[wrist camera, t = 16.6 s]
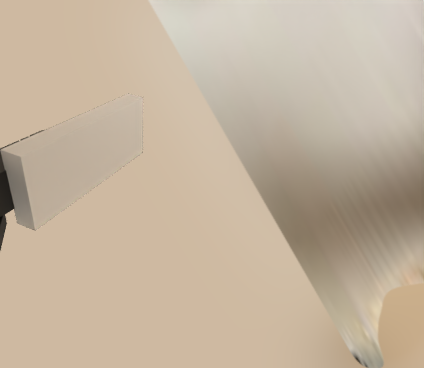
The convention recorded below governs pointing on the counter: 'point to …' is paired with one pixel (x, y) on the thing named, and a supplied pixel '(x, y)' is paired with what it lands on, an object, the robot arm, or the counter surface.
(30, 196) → the robot arm
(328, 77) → the counter surface
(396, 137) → the counter surface
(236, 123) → the counter surface
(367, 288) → the counter surface
